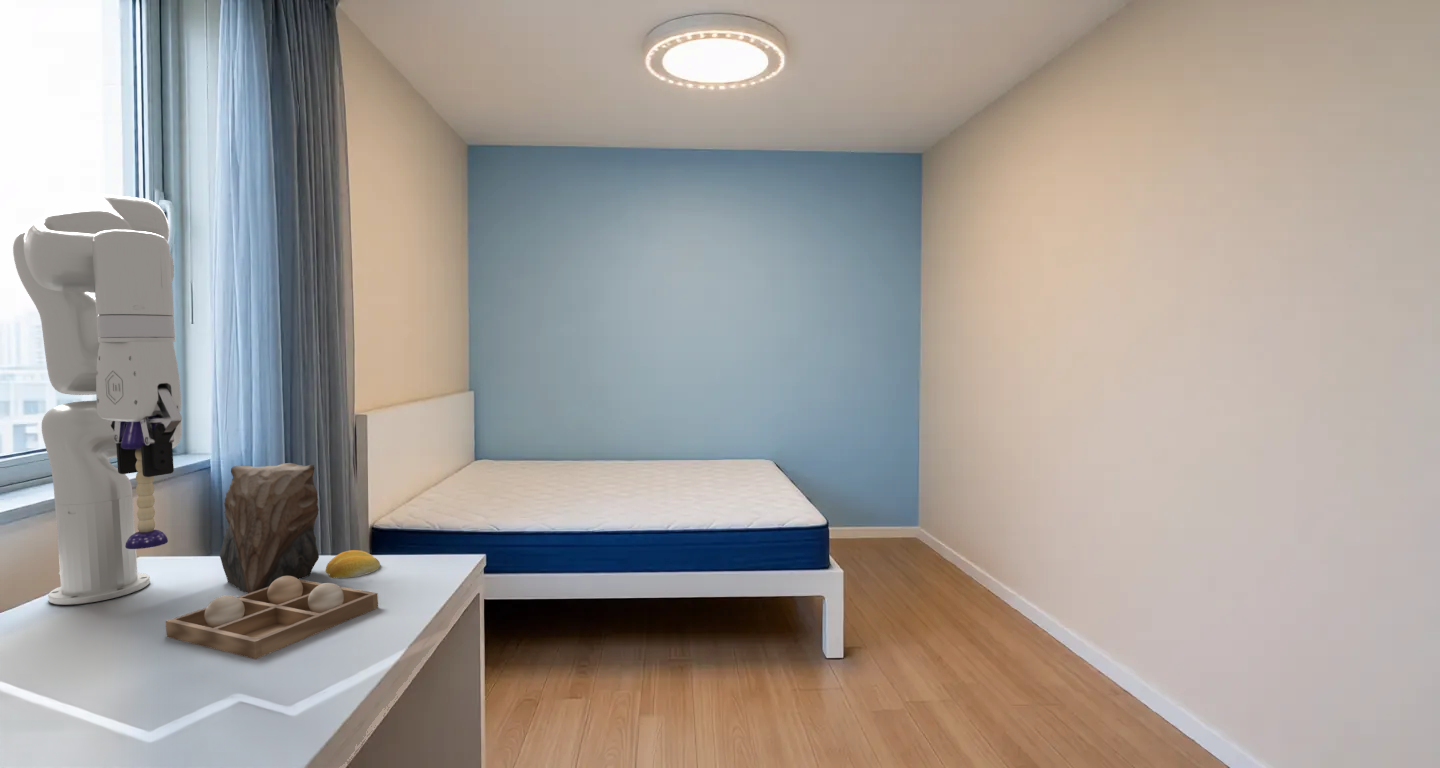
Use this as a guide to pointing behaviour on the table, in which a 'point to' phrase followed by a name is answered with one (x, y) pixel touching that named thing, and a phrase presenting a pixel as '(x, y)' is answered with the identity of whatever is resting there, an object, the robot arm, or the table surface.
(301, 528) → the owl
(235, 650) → the organizer
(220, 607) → the egg
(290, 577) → the egg
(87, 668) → the table surface
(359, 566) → the bread roll
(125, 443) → the toy lamp
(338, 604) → the egg
